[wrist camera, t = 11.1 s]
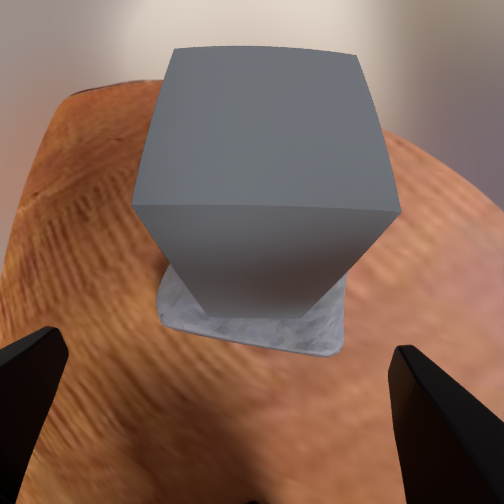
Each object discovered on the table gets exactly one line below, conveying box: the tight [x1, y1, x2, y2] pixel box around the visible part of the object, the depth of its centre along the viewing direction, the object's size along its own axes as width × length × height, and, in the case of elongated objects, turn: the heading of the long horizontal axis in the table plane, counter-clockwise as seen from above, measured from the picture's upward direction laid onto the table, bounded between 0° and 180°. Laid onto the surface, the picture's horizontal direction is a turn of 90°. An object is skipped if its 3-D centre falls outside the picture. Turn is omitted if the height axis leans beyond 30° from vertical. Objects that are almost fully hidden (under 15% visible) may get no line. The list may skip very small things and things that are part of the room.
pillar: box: [131, 46, 401, 319], centre depth 12 cm, size 5×5×12 cm
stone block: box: [156, 264, 348, 357], centre depth 21 cm, size 12×5×10 cm
